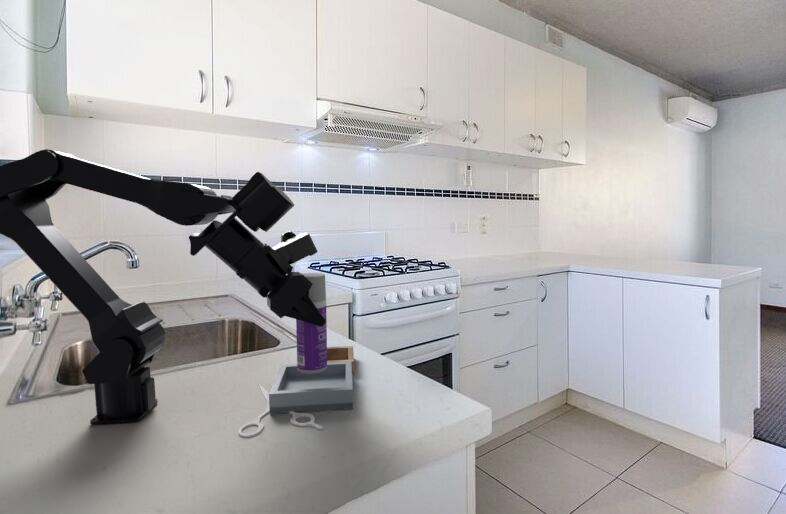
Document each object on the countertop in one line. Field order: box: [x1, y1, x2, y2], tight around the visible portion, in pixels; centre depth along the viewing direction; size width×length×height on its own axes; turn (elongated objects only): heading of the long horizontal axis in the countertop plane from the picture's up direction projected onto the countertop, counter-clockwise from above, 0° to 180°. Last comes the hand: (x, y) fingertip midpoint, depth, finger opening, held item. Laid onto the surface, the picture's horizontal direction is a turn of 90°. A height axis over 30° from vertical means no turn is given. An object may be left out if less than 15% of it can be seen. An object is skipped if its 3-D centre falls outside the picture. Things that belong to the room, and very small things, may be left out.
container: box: [295, 272, 328, 374], centre depth 67 cm, size 5×5×15 cm
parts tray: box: [268, 362, 354, 415], centre depth 68 cm, size 12×12×3 cm
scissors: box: [238, 382, 324, 439], centre depth 65 cm, size 11×1×20 cm
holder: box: [327, 345, 355, 376], centre depth 80 cm, size 9×9×2 cm
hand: (320, 320), depth 68 cm, fingers closed on container, 5 cm apart
